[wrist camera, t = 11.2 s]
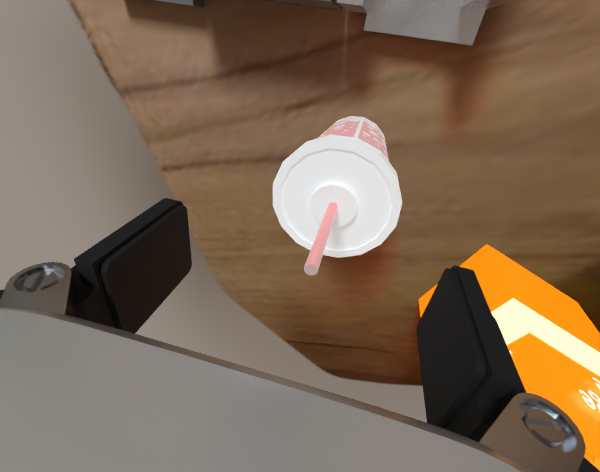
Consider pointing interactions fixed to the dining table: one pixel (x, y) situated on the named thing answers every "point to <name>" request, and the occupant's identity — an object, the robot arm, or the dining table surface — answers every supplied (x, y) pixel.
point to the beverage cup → (338, 192)
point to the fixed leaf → (313, 0)
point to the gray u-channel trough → (424, 17)
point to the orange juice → (544, 340)
